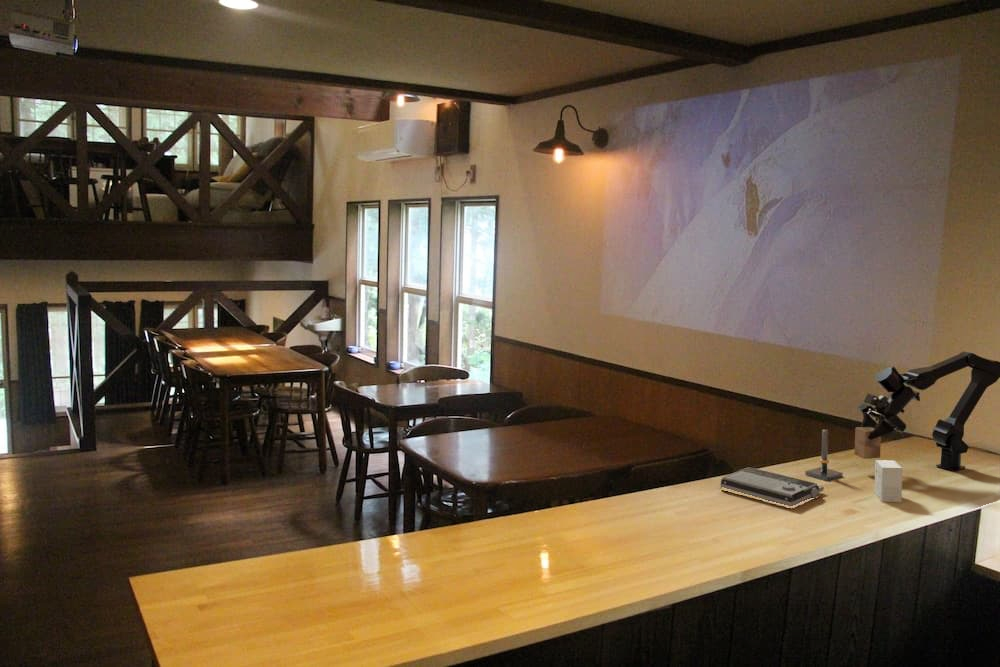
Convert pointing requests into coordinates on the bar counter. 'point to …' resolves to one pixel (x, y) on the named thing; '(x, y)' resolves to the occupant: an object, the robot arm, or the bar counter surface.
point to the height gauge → (824, 463)
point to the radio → (771, 486)
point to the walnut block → (866, 443)
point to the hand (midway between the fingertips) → (863, 436)
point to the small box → (888, 481)
